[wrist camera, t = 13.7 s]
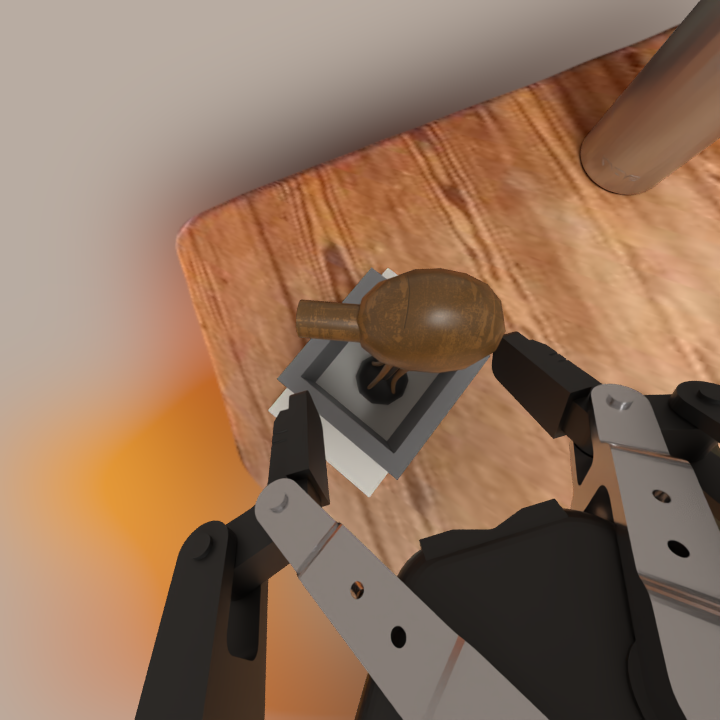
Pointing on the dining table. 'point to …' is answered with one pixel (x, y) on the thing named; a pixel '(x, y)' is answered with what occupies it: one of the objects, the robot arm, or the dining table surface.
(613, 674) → the robot arm
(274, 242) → the dining table surface
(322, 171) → the dining table surface
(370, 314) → the wooden tabletop sculpture
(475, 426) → the dining table surface
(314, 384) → the socket board
